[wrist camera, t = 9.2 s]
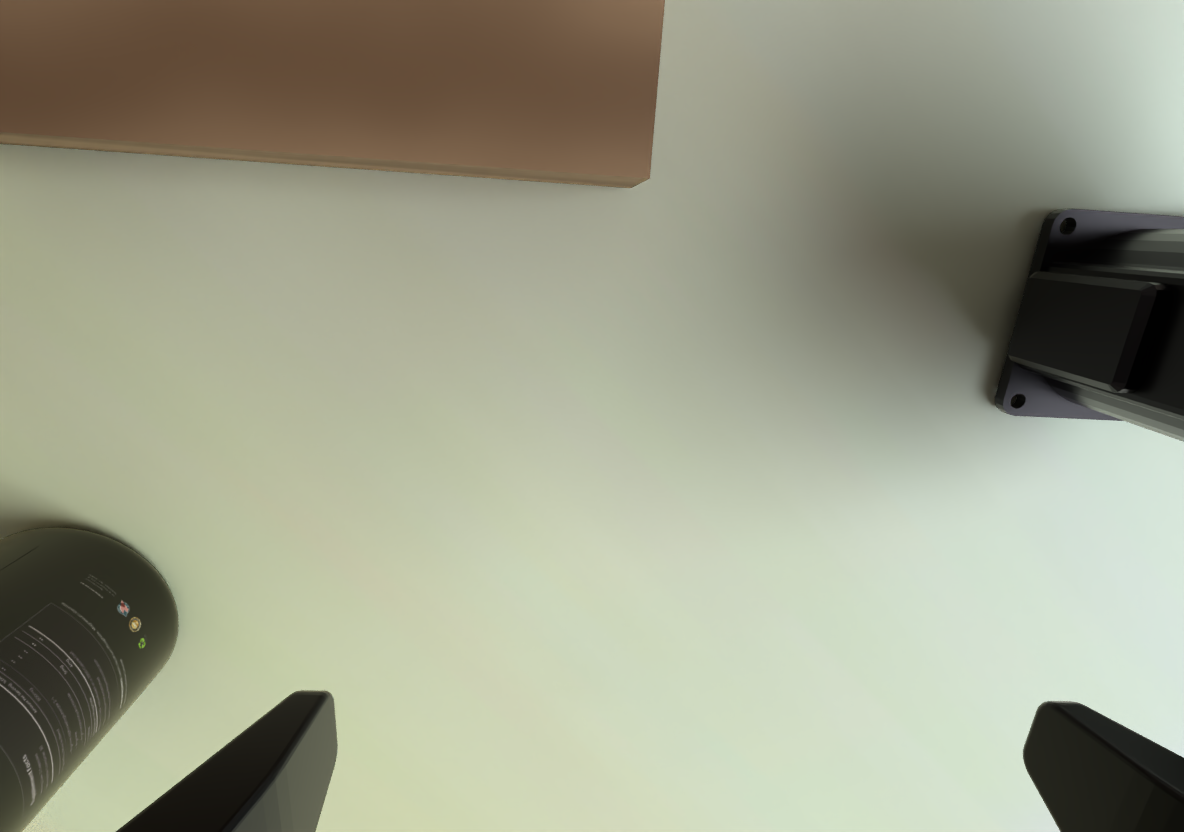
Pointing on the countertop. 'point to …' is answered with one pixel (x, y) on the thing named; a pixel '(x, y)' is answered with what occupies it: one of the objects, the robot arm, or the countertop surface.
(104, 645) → the supplement bottle
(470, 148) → the hole block
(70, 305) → the countertop surface
